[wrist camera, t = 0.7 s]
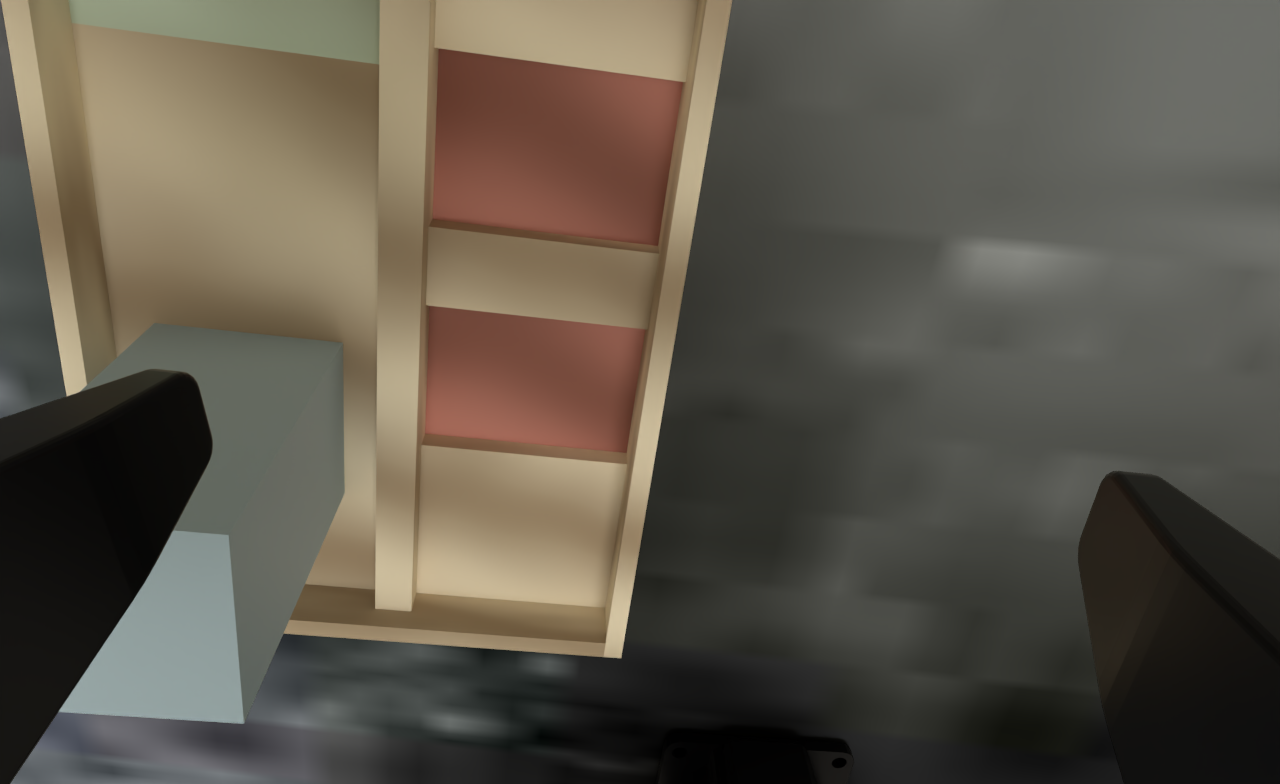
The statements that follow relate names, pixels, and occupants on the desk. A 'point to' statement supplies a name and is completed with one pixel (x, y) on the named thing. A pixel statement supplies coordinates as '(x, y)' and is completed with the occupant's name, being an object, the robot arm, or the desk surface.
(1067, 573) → the desk surface
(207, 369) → the block
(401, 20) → the wooden divided tray
